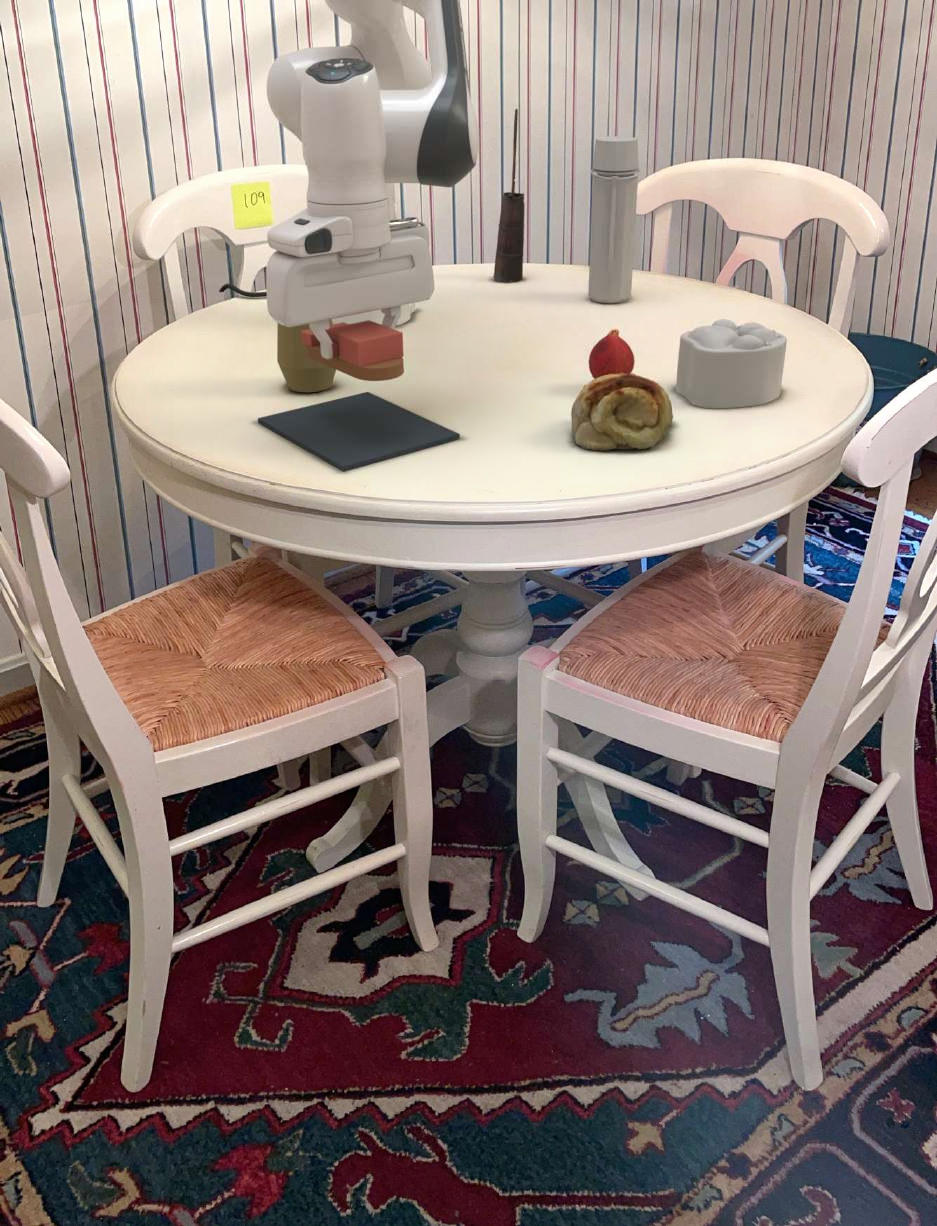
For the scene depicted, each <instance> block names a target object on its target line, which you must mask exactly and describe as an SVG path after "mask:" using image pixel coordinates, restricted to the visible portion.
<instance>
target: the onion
mask: <svg viewBox="0 0 937 1226" xmlns="http://www.w3.org/2000/svg"><path fill="white" fill-rule="evenodd" d="M619 335H620V331H619V329H618V328H612V329H611V330H610V331H609V332H608V334H606V335H605V336H603V337H602V338H601V339H599V340H598V341H597V343H595V344H594V345H593V347H592V349H591V351H590V354H589V357H588V369H589V372H590V374H591V377H592V378H593V380H594V379H596V378H598V377H601V376H604V375H609V374H619V373H624V374H632V373H633V370H634V369H635V368H634V367H635V363H636V362H635V361H636V360H635V355H634V352H633V350H632V348H631V346H630V345H629V344H628V343H627V341H625V340H624V339H623V338H622V337H621V336H619Z"/></svg>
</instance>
